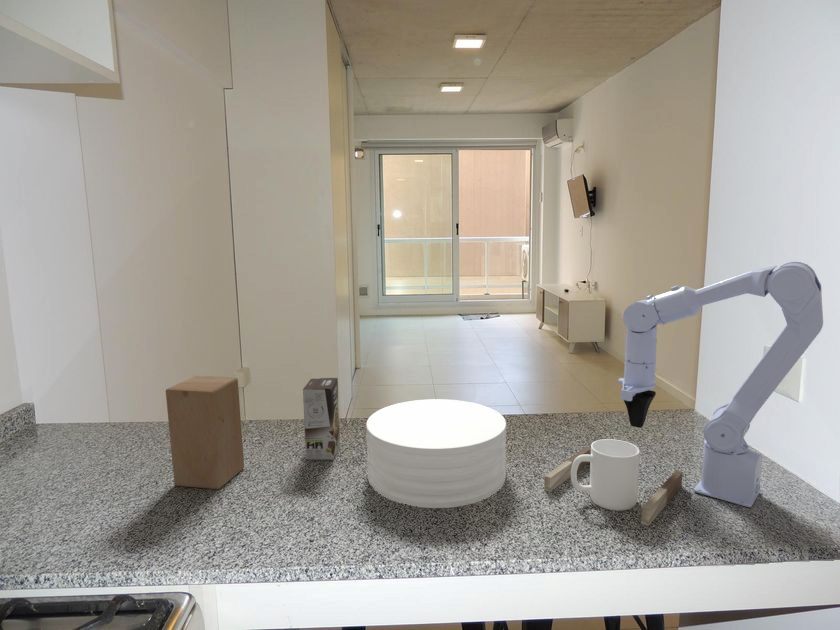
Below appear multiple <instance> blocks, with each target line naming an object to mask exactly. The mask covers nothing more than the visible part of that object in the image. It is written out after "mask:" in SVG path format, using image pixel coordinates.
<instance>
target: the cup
mask: <svg viewBox="0 0 840 630" xmlns="http://www.w3.org/2000/svg"><path fill="white" fill-rule="evenodd" d="M590 448H591V455H589V454H583V455H579V456H578V457H576V458H575V460H574V462H573V464H572V468H571V477H570V481H571V484H572V486H573V488H574V489H575V490H577V491H578V492H581V493H586V494H589V497H590V500H591V501H592V502H593V503H594V504H595V505H596V506H598V507H600V508H603V509H606V510H609V511H616V512H619V511H628V510H631V509H632V508H634V507H635V506H636V505H637V503H638V492H639V489H638V488H639V470H640V469H639V468H640V454H641V453H640V452H641V451H640V449H639V447H638V446H636V445H635V444H634V443H631V442H629V441H625V440H622V439H621V440H620V439H612V438H604V439H603V438H602V439H598V440H595V441H593V442H591V445H590ZM583 461H587V462H590V463H589V464H590V465H589V485H583V484H580V483H579V481H578V478H577V474H578V472H577V469H578V466H579V464H580V463H581V462H583Z"/></svg>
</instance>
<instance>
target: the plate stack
mask: <svg viewBox="0 0 840 630" xmlns="http://www.w3.org/2000/svg"><path fill="white" fill-rule="evenodd" d="M365 424H366V425H365V426H366V444H367V446H366V448H367V449H366V453H367V480H368V482H369V485H370V487H371V486H372V487H373V488H374V489H373V488H372V487H371V488H372V489H373V491H375V492H376V491H377V492H378V493H377V492H376V493H377V494H378V495H380V494H381V495H380V496H381V497H383V496H384V497H383V498H385V497H386V498H385V499H387V498H389V499H391V500H390V501H392V500H393V501H392V502H395V501H396V502H395V503H398V502H399V503H398V504H401V503H403V504H402V505H405V504H408V505H407V506H410V505H411V507H416V506H417V507H418V508H426V509H428V508H430V509H445V508H447V509H448V508H455V507H456V508H457V507H463V506H467V505H473V504H475V503H479V502H482V501H484V500H486V499H488V498H490V497H492V496H493V494H494V495H495V494H496V493H498V492H499V491H500V490H501V489H502V488H503V486H504V485H505V482H506V477H507V475H506V472H507V471H506V465H507V461H506V460H507V459H506V454H507V448H506V447H507V446H506V443H507V434H506V433H507V421H506V419H505V417H504V416H503V415H502V413H500V412H499V411H497V410H495V409H493V408H491V407H489V406H485V405H483V404H480V403H476V402H472V401H471V402H470V401H468V400H467V401H466V400H459V399H458V400H457V399H450V398H449V399H446V398H445V399H443V398H434V399H433V398H429V399H428V398H427V399H416V400H415V399H414V400H410V401H409V400H407V401H403V402H398V403H394V404H391V405H388V406H385V407H382V408H380V409H378V410H376V411H374V413H371V415H370V416H369V417H368V419H367V420H366V423H365ZM501 487H502V488H501ZM500 488H501V489H500ZM499 489H500V490H499ZM497 491H498V492H497ZM491 495H492V496H491ZM389 499H388V500H389ZM483 499H484V500H483Z"/></svg>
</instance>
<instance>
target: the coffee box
mask: <svg viewBox="0 0 840 630" xmlns="http://www.w3.org/2000/svg"><path fill="white" fill-rule="evenodd" d="M338 381H339V380H338V377H320V378H310V380H308V382H307V383H306V384H305V385H304V387H303V388H302V394H303V395H302V401H303V402H302V403H303V421H304V425H303V426H304V441H305V442H304V445H305V459H306V460H313V461H314V460H315V461H316V460H319V461H320V460H322V461H323V460H324V461H325V460H327V461H328V460H329V461H330V460H331V461H333V460H334V459H335V457H336V454H337V452H338V451H339V448H340V445H341V428H340V409H339V407H340V405H339V383H338Z"/></svg>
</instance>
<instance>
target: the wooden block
mask: <svg viewBox="0 0 840 630" xmlns="http://www.w3.org/2000/svg"><path fill="white" fill-rule="evenodd" d="M239 392H240V390H239V379H238V377H232V376H231V377H229V376H213V375H211V376H209V375H194V376H192V377H190V378H188V379H186V380H184V381H182V382H178V383H177V384H175V385H173V386H170V387H168V388H166V389H165V397H166V399H165V400H166V410H167V421H168V429H169V430H168V431H169V442H170V453H171V461H172V472H173V482H174V485H175V486H178V487H189V488H200V489H208V490H209V489H211V490H220V489H221V488H223V487H224V486H225V485H226V484H227V483H228V482H230V481H231V480H232V479H233V478H234V477H236V476H237V474H240V472H241V471H242V470H244V468H245V458H244V457H245V456H244V445H243V443H244V442H243V433H242V419H241V418H242V416H241V405H240V404H241V403H240V402H241V401H240V393H239Z"/></svg>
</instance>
